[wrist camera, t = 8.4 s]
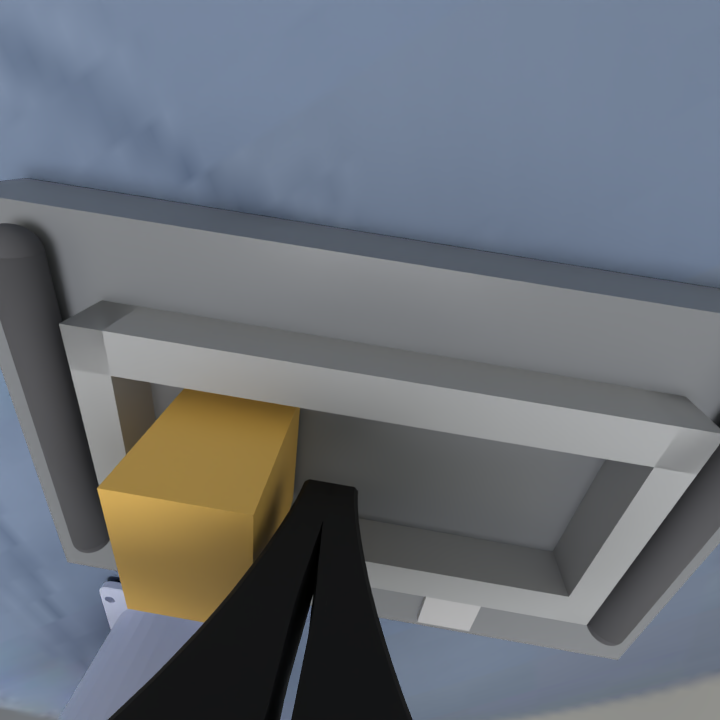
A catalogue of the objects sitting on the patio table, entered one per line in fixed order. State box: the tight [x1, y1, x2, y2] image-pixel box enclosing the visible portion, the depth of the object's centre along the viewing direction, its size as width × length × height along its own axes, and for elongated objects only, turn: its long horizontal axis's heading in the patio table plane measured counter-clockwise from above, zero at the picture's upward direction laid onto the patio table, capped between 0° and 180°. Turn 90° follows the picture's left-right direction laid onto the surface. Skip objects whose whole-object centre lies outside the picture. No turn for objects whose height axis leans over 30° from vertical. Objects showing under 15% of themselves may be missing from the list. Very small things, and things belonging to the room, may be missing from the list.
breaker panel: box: [0, 178, 720, 660], centre depth 13 cm, size 14×22×4 cm, turn 82°
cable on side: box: [0, 223, 110, 553], centre depth 12 cm, size 11×1×1 cm, turn 172°
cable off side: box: [587, 427, 720, 646], centre depth 12 cm, size 11×1×1 cm, turn 172°
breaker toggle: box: [97, 388, 300, 622], centre depth 10 cm, size 4×3×4 cm
